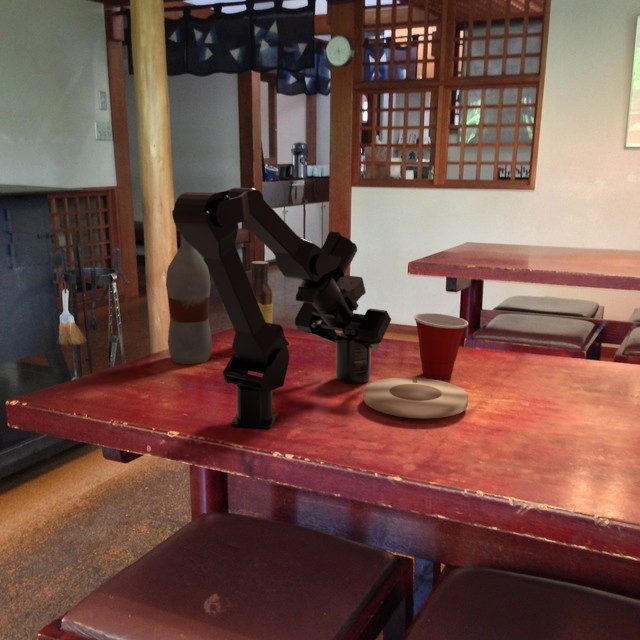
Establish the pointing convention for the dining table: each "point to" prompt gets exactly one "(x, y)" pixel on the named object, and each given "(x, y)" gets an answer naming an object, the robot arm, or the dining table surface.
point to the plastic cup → (439, 343)
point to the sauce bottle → (262, 288)
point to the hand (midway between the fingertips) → (357, 345)
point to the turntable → (415, 397)
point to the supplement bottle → (352, 357)
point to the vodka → (188, 306)
